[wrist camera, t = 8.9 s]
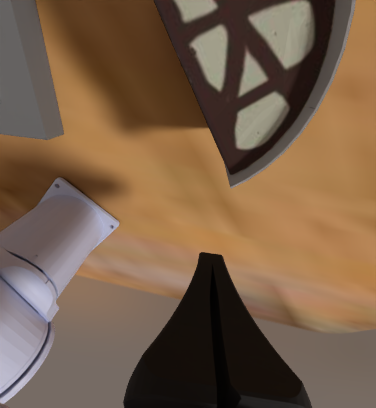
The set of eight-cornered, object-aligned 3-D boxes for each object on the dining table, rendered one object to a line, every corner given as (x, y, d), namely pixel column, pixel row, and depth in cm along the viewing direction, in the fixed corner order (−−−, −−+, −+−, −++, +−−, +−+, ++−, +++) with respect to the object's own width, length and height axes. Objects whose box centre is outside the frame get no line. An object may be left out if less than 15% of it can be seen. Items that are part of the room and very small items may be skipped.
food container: (295, 109, 16) (393, 138, 7) (222, 143, 18) (235, 198, 9) (241, -115, 11) (364, -878, 2) (148, -34, 13) (20, -278, 4)
